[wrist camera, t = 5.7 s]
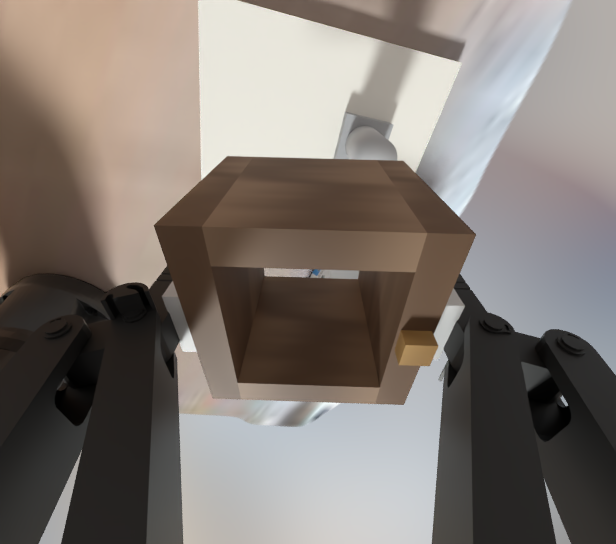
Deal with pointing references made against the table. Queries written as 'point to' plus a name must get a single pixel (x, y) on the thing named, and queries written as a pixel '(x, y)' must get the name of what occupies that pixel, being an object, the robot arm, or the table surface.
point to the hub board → (311, 89)
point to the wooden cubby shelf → (313, 291)
